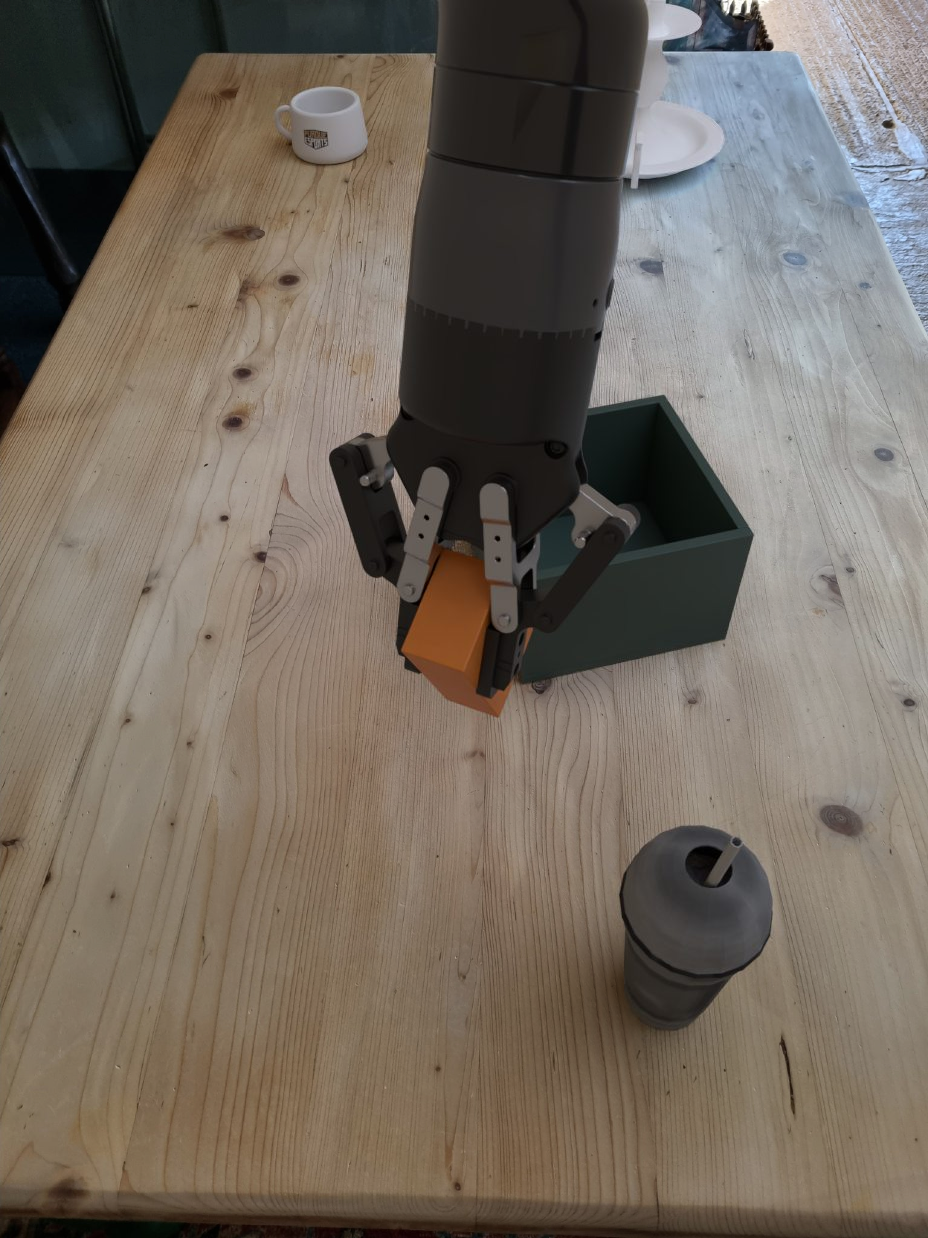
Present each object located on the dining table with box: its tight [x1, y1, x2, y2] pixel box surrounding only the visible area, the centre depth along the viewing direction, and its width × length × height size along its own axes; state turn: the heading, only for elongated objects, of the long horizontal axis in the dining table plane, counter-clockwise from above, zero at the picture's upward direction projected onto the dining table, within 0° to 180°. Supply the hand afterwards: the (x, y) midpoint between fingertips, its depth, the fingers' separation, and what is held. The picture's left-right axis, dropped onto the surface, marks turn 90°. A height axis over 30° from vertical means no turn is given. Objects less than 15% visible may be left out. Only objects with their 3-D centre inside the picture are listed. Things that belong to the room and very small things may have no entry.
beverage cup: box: [618, 824, 774, 1032], centre depth 49 cm, size 7×7×20 cm
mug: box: [273, 86, 369, 165], centre depth 124 cm, size 12×10×6 cm
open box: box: [470, 394, 755, 685], centre depth 73 cm, size 16×16×11 cm
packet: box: [401, 549, 533, 718], centre depth 47 cm, size 3×5×9 cm, turn 156°
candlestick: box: [621, 0, 725, 189], centre depth 110 cm, size 21×25×28 cm
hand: (455, 675), depth 46 cm, fingers closed on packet, 3 cm apart
